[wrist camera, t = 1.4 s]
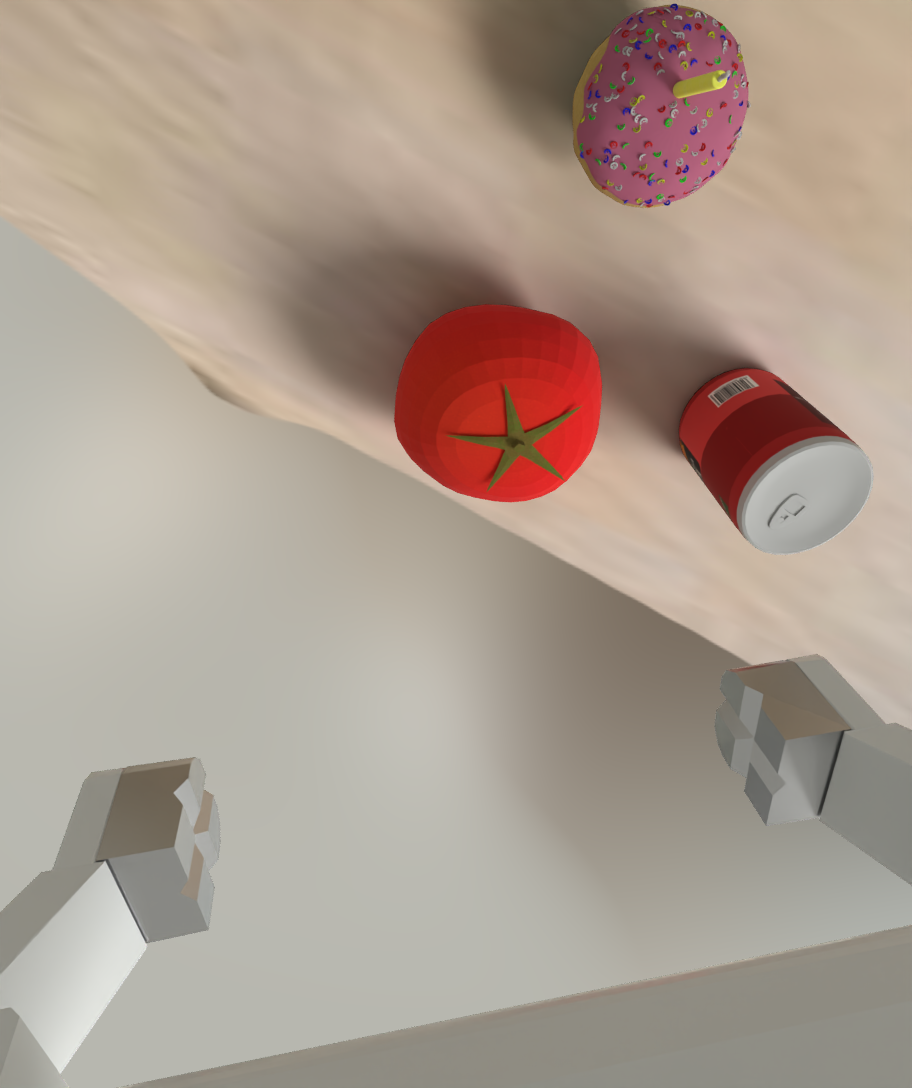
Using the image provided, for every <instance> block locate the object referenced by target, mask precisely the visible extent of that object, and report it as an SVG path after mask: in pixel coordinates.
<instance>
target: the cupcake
mask: <svg viewBox="0 0 912 1088" xmlns="http://www.w3.org/2000/svg"><path fill="white" fill-rule="evenodd" d="M748 83H749V82H747V77H746V72H745V67H744V63H743V57H742V54H741V52H740V44H737V42H736V40H735V38H734V37H733V35H732V34H731V33H730V32H729V31H728V30H727V29H726V28H725V26H723V24H722V23H720V22H718V21H717V20H716V19H714V18H713V17H711V16H710V15H708V14H706V13H704V12H702V11H699V10H697V9H693V8H690V7H686V6H680V5H677V4H672V5H664V6H659V7H653V8H646V9H642V10H639V11H637V12H635V13H633V14H632V15H630V16H628V17H627V18H625V19H624V20H623V21H622V22H620V23H619V24H618V25H617V26H616V27H615V28H614V30H613V31H612V33H611V35H610V36H609V37H608V38H606V39H605V41H604V42H603V43H602V44H601V45H600V46H599V47H598V48H597V49H596V50H595V51H594V53H593V54H592V55H591V57H590V59H589V61H588V63H587V65H586V68H585V70H584V72H583V74H582V76H581V78H580V80H579V83H578V85H577V87H576V90H575V94H574V99H573V131H574V140H573V145H574V151H575V153H576V156H577V158H578V160H579V161H580V163H581V165H582V167H583V169H584V170H585V172H586V174H587V176H588V178H589V179H590V181H591V182H592V184H593V185H594V186H595V188H597V189H598V190H599V191H600V192H602V193H604V194H605V195H607V196H609V197H610V198H612V199H613V200H615V201H617V202H619V203H621V204H624V205H627V206H632V207H643V208H650V207H658V206H662V205H669V204H670V202H673V201H676V200H679V199H682V198H684V197H687V196H688V195H690V194H692V193H694V192H695V191H697V190H698V189H699V188H701V187H702V186H703V185H704V184H706V183H707V182H708V181H709V180H710V179H711V178H713V177H714V176H715V175H716V174H717V173H718V172H719V171H720V170H721V169H722V168H723V167H724V166H725V164H726V163H727V161H728V159H729V157H730V155H731V153H732V152H733V151H734V150H735V149H736V148H734V146H735V144H736V141H737V139H740V138H741V136H742V132H741V128H742V125H743V121H744V118H745V114H746V110H747V107H748V108H749V107H750V106H751V105H750V102H749V101H748ZM748 104H749V105H748ZM739 134H740V136H739ZM738 136H739V137H738ZM733 148H734V149H733Z"/></svg>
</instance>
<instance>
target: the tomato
mask: <svg viewBox="0 0 912 1088" xmlns="http://www.w3.org/2000/svg"><path fill="white" fill-rule="evenodd" d="M601 396H602V381H601V374H600V367H599V360H598V356H597V354H596V352H595V350H594V348H593V346H592V344H591V342H590V340H589V339H588V338H587V337H585V336H584V335H583V334H582V333H581V332H580V331H579V330H578V329H577V328H576V327H575V326H574V325H572V324H571V323H570V322H568V321H566V320H564V319H561V318H559V317H557V316H555V315H553V314H549V313H544V312H540V311H536V310H531V309H527V308H521V307H515V306H509V305H489V304H485V305H478V306H470V307H464V308H461V309H458V310H455V311H452V312H449V313H446V314H444V315H443V316H441V317H440V318H438V319H436V320H435V321H433V322H432V323H430V324H429V325H428V326H427V327H426V329H425V330H424V331H423V332H422V333H421V335H420V336H419V337H418V338H417V340H416V341H415V343H414V344H413V346H412V348H411V350H410V352H409V354H408V355H407V357H406V359H405V362H404V365H403V368H402V371H401V374H400V377H399V382H398V387H397V392H396V401H395V418H394V422H395V427H396V432H397V437H398V440H399V441H400V443H401V445H402V446H403V448H404V449H405V451H406V452H407V454H408V455H409V456H410V458H411V459H412V460H413V461H414V462H415V463H416V464H417V465H418V466H419V467H420V468H421V469H422V470H423V471H424V472H426V473H427V474H428V475H430V476H431V477H432V478H434V479H435V480H436V481H438V482H439V483H440V484H442V485H443V486H445V487H447V488H449V489H451V490H453V491H455V492H457V493H460V494H464V495H467V496H471V497H475V498H480V499H485V500H491V501H499V502H518V501H527V500H531V499H534V498H538V497H541V496H543V495H546V494H548V493H550V492H552V491H554V490H555V489H557V488H558V487H559V486H561V485H562V484H563V483H564V482H566V481H567V480H568V479H569V478H570V477H571V476H572V474H573V473H574V472H575V471H576V470H577V469H578V468H579V467H580V466H581V465H582V463H583V462H584V460H585V459H586V457H587V456H588V455H589V453H590V452H591V450H592V447H593V444H594V441H595V438H596V435H597V431H598V426H599V418H600V409H601Z"/></svg>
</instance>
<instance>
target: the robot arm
mask: <svg viewBox="0 0 912 1088" xmlns="http://www.w3.org/2000/svg"><path fill="white" fill-rule="evenodd" d="M720 690H721V692H722V693H723V695H724V696H725V698H726V700H725V701H724V702H723V704H722V705H721V706H720V707H719V708H718V709H717V710H716V719H715V731H716V736H717V742H718V745H719V748H720V750H721V753H722V756H723V757H724V759H725V761H726V762H727V764H728V766H729V767H730V769H732V770H733V771H735V772H737V773H739V774H741V775H742V776H744V777H745V778H747V779H746V785H745V790H744V792H745V793H746V795H747V796H748V798H749V799H750V801H751V803H752V804H753V806H754V808H755V809H756V811H757V812H758V814H759V815H760V817H761V818H762V820H763V822H764V823H765V825H766V826H769V825H776V824H782V823H788V822H794V821H801V820H808V819H814V818H820V819H819V821H821V822H822V823H824V824H825V825H826V826H828V827H829V828H831V829H832V830H834V831H835V832H836V833H838V834H839V835H841V836H842V837H844V838H845V839H846V840H848V841H849V842H851V843H852V844H854V845H855V846H856V847H858V848H859V849H860V850H862V851H864V852H865V853H866V854H868V855H869V856H870V857H872V858H873V859H875V860H876V861H878V862H879V863H880V864H882V865H883V866H885V867H886V868H887V869H889V870H891V871H892V872H893V873H895V874H896V875H897V876H899V877H900V878H902V879H903V880H905V881H906V882H908V883H909V884H910V885H912V730H910V729H908V728H906V727H904V726H902V725H899V724H897V723H892V724H886V723H885V722H884V721H883V720H882V719H881V718H880V717H879V716H878V714H877V713H876V712H875V711H874V710H873V709H872V708H871V707H870V706H869V705H868V704H867V703H866V702H865V700H864V699H863V698H862V697H861V696H860V695H859V694H858V693H857V692H856V691H855V690H854V689H853V688H852V686H851V685H850V684H849V683H848V682H847V681H846V680H845V679H844V678H843V677H842V676H841V675H840V674H839V672H838V671H837V670H836V669H835V668H834V667H833V666H832V665H831V664H830V663H829V662H828V661H827V660H826V659H825V658H824V657H822V656H820V655H818V654H815V655H809V656H804V657H798V658H792V659H787V660H785V661H784V660H782V661H776V662H770V663H764V664H758V665H753V666H747V667H741V668H735V669H730V670H726V671H725V673H724V675H723V676H722V679H721V685H720ZM205 778H206V773H205V771H204V768H203V765H202V763H201V760H200V759H199V758H196V757H193V758H186V759H179V760H172V761H164V762H157V763H151V764H144V765H136V766H128V767H126V768H120V769H112V770H105V771H97V772H91V774H90V775H89V776H88V777H87V778H86V779H85V781H84V782H83V785H82V788H81V790H80V793H79V796H78V799H77V802H76V805H75V807H74V810H73V813H72V816H71V819H70V821H69V824H68V827H67V830H66V833H65V836H64V838H63V841H62V844H61V847H60V850H59V853H58V855H57V858H56V861H55V864H54V867H53V869H52V870H51V871H45V872H41V873H40V874H39V875H38V876H37V877H36V878H35V879H34V880H33V881H32V882H31V883H30V884H29V885H28V886H27V887H26V888H25V889H24V890H23V891H22V892H21V893H19V894H18V896H17V897H15V898H14V899H13V900H12V901H11V902H10V903H9V904H8V905H7V906H6V907H5V908H4V909H3V910H2V911H1V912H0V1088H70V1087H69V1086H68V1084H67V1083H66V1081H65V1080H64V1078H63V1077H62V1076H61V1072H62V1071H63V1069H64V1068H65V1066H66V1065H67V1063H68V1062H69V1061H70V1059H71V1058H72V1056H73V1055H74V1053H75V1052H76V1050H77V1049H78V1047H79V1046H80V1044H81V1043H82V1042H83V1040H84V1039H85V1037H86V1036H87V1034H88V1033H89V1031H90V1030H91V1028H92V1027H93V1025H94V1024H95V1022H96V1021H97V1020H98V1018H99V1017H100V1015H101V1014H102V1012H103V1011H104V1009H105V1008H106V1006H107V1005H108V1003H109V1002H110V1001H111V999H112V998H113V996H114V995H115V993H116V992H117V990H118V989H119V988H120V986H121V985H122V983H123V982H124V980H125V979H126V977H127V976H128V974H129V973H130V972H131V970H132V969H133V967H134V965H135V964H136V963H137V961H138V960H139V958H140V957H141V955H142V954H143V952H144V951H145V949H146V948H147V945H146V943H150V942H155V941H159V940H164V939H169V938H173V937H178V936H183V935H187V934H192V933H196V932H201V931H206V930H208V929H209V923H210V916H211V909H212V902H213V895H214V888H215V887H214V884H213V881H212V879H211V876H210V873H209V870H210V869H211V868H212V867H213V865H214V864H215V863H216V862H217V860H218V858H219V849H220V819H219V814H218V809H217V805H216V802H215V799H214V796H213V795H212V794H211V793H209V792H207V791H206V790H204V784H205ZM118 1088H912V925H909V926H904V927H898V928H893V929H889V930H884V931H879V932H875V933H869V934H864V935H859V936H854V937H850V938H845V939H840V940H835V941H830V942H825V943H820V944H815V945H811V946H806V947H801V948H796V949H791V950H786V951H782V952H776V953H772V954H767V955H762V956H757V957H752V958H748V959H742V960H738V961H733V962H728V963H723V964H718V965H713V966H708V967H704V968H699V969H694V970H689V971H685V972H679V973H674V974H670V975H665V976H660V977H655V978H650V979H645V980H640V981H636V982H631V983H626V984H621V985H616V986H611V987H606V988H601V989H597V990H592V991H587V992H582V993H577V994H572V995H568V996H562V997H558V998H553V999H548V1000H544V1001H538V1002H534V1003H528V1004H524V1005H519V1006H514V1007H509V1008H504V1009H499V1010H495V1011H489V1012H484V1013H480V1014H475V1015H470V1016H465V1017H461V1018H455V1019H450V1020H445V1021H440V1022H436V1023H431V1024H426V1025H421V1026H416V1027H412V1028H406V1029H401V1030H397V1031H392V1032H387V1033H382V1034H377V1035H372V1036H367V1037H362V1038H358V1039H353V1040H348V1041H343V1042H338V1043H333V1044H328V1045H324V1046H318V1047H314V1048H309V1049H304V1050H299V1051H294V1052H289V1053H284V1054H279V1055H274V1056H270V1057H265V1058H260V1059H255V1060H250V1061H245V1062H240V1063H235V1064H231V1065H226V1066H221V1067H216V1068H211V1069H207V1070H201V1071H197V1072H191V1073H187V1074H182V1075H177V1076H173V1077H167V1078H163V1079H157V1080H152V1081H147V1082H143V1083H138V1084H133V1085H128V1086H123V1087H118Z"/></svg>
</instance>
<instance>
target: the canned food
mask: <svg viewBox="0 0 912 1088" xmlns="http://www.w3.org/2000/svg"><path fill="white" fill-rule="evenodd" d="M679 438H680V445H681V449H682V452H683V454H684V456H685V457H686V459H687V461H688V462H689V463H690V465H691V466H692V467H693V469H694V470H695V472H696V473H697V474H698V476H699V477H700V478H701V480H702V481H703V482H704V484H705V485H706V487H707V488H708V489H709V491H710V492H711V493H712V495H713V496H714V498H715V499H716V500H717V502H718V503H719V504H720V506H721V507H722V509H723V510H724V511H725V513H726V514H727V515H728V517H729V518H730V519H731V521H732V522H733V524H734V525H735V526H736V528H737V529H738V530H739V531H740V532H741V534H742V535H743V537H744V538H745V539H747V540H748V541H749V542H750V543H751V544H752V545H753V546H754V547H755V548H757V549H759V550H761V551H763V552H766V553H770V554H774V555H788V554H796V553H800V552H804V551H807V550H810V549H813V548H815V547H817V546H820V545H822V544H824V543H825V542H827V541H829V540H830V539H832V538H834V537H835V536H836V535H838V534H839V533H840V532H842V531H843V530H844V529H845V528H846V527H847V526H848V525H849V524H850V523H851V522H852V521H853V520H854V519H855V518H856V517H857V515H858V514H859V513H860V512H861V510H862V509H863V507H864V505H865V503H866V502H867V500H868V498H869V495H870V492H871V489H872V485H873V477H874V476H873V467H872V465H871V462H870V460H869V458H868V457H867V455H866V454H865V453H864V452H863V450H862V449H861V448H860V447H859V446H858V445H857V444H856V443H855V442H854V441H852V440H851V439H850V438H849V437H848V436H847V435H846V434H845V433H844V432H843V431H841V430H840V429H839V428H838V427H837V426H836V425H834V424H833V423H832V422H831V421H830V420H829V419H827V418H826V417H825V416H824V415H823V414H821V413H820V412H819V411H818V410H817V409H816V408H814V407H813V406H812V405H811V404H810V403H808V402H807V401H806V400H805V399H804V398H803V397H801V396H800V395H799V394H798V393H797V392H796V391H794V390H793V389H792V388H791V387H790V386H788V385H787V384H786V383H785V382H784V381H783V380H781V379H780V378H779V377H777V376H776V375H774V374H772V373H770V372H767V371H763V370H759V369H751V368H742V369H735V370H732V371H728V372H725V373H723V374H721V375H719V376H717V377H715V378H713V379H712V380H710V381H709V382H707V383H706V384H705V385H704V386H702V387H701V388H700V389H699V390H698V391H697V392H696V393H695V395H694V396H693V397H692V398H691V400H690V401H689V402H688V404H687V406H686V408H685V409H684V412H683V414H682V417H681V420H680V426H679Z"/></svg>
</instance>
